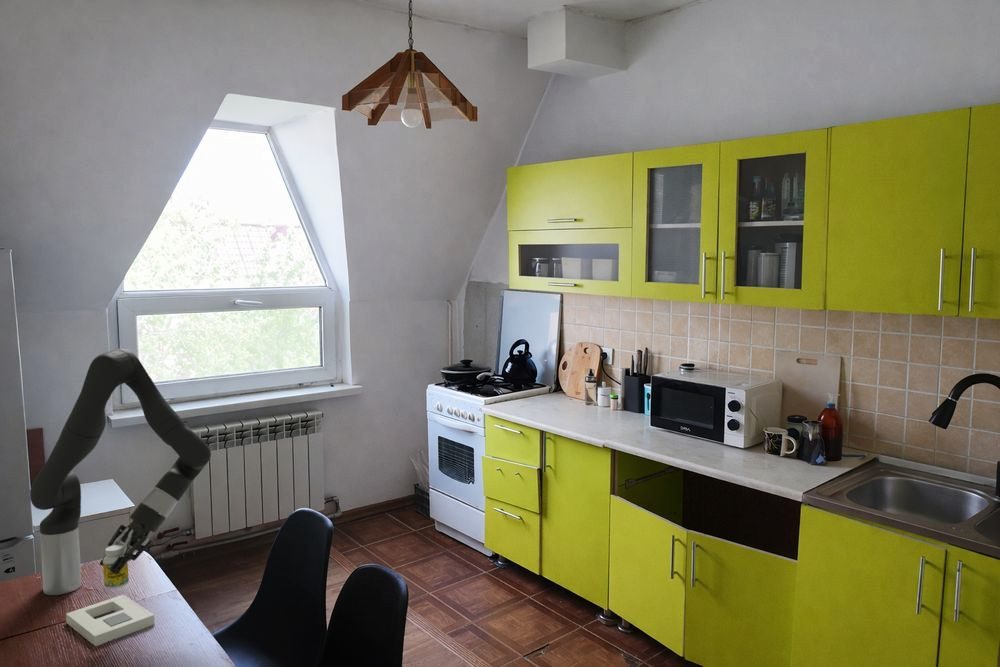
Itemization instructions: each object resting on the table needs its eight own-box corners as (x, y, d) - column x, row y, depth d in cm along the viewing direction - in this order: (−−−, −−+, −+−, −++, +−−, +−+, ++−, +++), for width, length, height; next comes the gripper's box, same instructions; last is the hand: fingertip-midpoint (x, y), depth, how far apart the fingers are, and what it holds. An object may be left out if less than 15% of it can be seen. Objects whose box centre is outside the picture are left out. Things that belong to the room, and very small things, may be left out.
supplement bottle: (127, 578, 182) (125, 542, 181) (130, 586, 177) (128, 548, 176) (103, 583, 179) (101, 546, 178) (105, 591, 174) (103, 553, 174)
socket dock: (66, 623, 182) (66, 612, 182) (123, 603, 193) (123, 593, 193) (95, 646, 171) (94, 635, 170) (154, 624, 181) (154, 614, 181)
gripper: (130, 496, 187) (83, 555, 179) (156, 507, 178) (107, 570, 169) (152, 511, 191) (107, 568, 183) (178, 522, 182) (132, 584, 174)
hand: (108, 569), depth 176 cm, fingers closed on supplement bottle, 5 cm apart
